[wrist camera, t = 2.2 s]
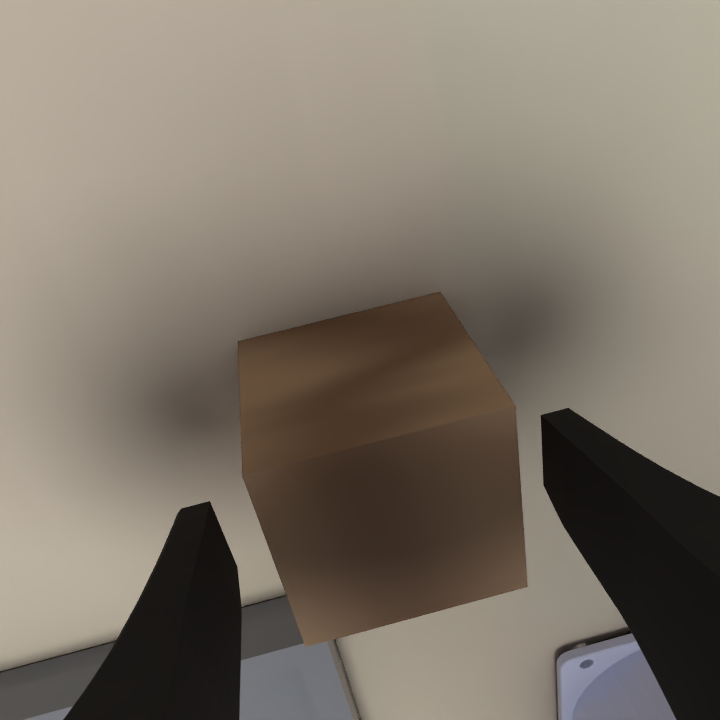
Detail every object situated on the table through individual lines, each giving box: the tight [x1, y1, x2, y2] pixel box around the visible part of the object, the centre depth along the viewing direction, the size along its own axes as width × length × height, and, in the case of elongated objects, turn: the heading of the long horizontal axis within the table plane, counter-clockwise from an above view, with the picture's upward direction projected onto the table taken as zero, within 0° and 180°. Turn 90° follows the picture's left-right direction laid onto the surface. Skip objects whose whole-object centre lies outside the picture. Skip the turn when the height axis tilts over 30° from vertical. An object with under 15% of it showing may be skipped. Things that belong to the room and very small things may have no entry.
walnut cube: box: [238, 292, 527, 647], centre depth 15 cm, size 5×5×5 cm
